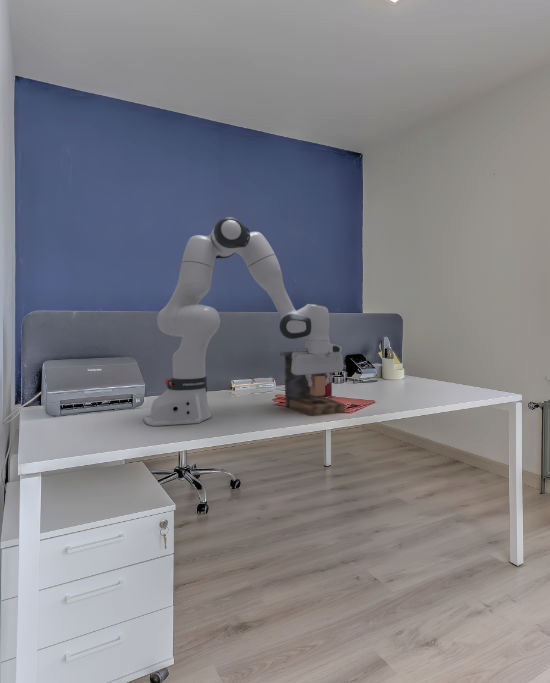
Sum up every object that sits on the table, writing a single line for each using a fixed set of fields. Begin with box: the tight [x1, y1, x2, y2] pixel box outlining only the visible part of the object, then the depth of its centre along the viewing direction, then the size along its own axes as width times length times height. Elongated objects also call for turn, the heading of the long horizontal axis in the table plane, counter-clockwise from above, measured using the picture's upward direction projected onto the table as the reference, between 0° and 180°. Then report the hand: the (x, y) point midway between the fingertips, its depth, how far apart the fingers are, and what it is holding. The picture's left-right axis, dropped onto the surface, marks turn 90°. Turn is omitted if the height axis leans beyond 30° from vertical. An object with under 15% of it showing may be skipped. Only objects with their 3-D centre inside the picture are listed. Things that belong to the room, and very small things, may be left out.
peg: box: [310, 375, 325, 396], centre depth 169 cm, size 4×4×7 cm
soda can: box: [323, 373, 333, 398], centre depth 196 cm, size 7×7×12 cm
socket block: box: [279, 351, 346, 417], centre depth 171 cm, size 20×18×21 cm
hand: (317, 385), depth 169 cm, fingers closed on peg, 4 cm apart
